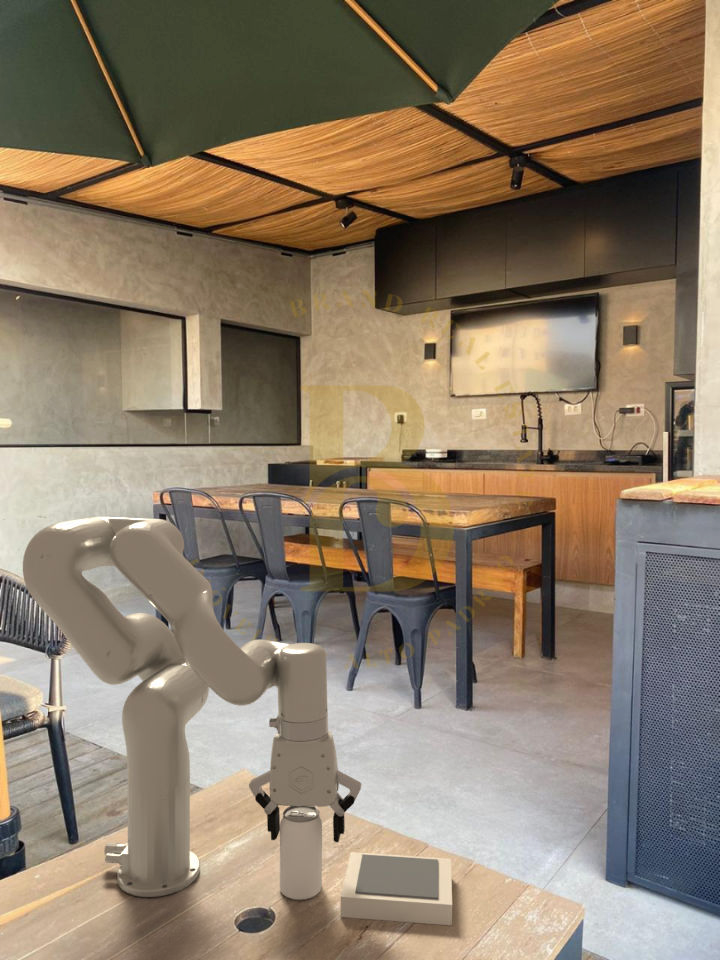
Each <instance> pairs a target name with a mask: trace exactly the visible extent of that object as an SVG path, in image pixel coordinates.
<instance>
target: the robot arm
mask: <svg viewBox="0 0 720 960" xmlns="http://www.w3.org/2000/svg"><path fill="white" fill-rule="evenodd" d="M184 549H185V541H184V537H183V534H182V533H181V531H180V530H179V528H177V526H176V525H175V524H173V523H171V522H170V521H168V520H166V519H162V518H161V519H160V518H137V517H136V518H135V517H115V516H114V517H112V516H111V517H110V516H92V517H86V518H79V519H73V520H72V519H71V520H65V521H60V522H56V523H54V524H51V525H47V526H46V527H44V528H42V529H40V530H39V531H38V532H37V533H36V534H34V536H33V537H32V538H31V539H30V540H29V542H28V544H27V546H26V548H25V551H24V554H23V560H22V575H23V580H24V583H25V586H26V588H27V591H28V592H29V593H28V594H30V596H31V598H33V600H34V602H35V604H37V605H38V606H39V607H40V609H41V610H42V611H43V613H45V614H46V615H47V616H48V617H49V618H50V619H51V621H53V623H54V624H55V626H56V627H57V628H58V629H59V630H60V631H61V633H62V634H63V635H64V637H65V638H66V639H67V641H68V642H69V643H70V645H71V646H72V648H73V649H74V650H75V651H76V653H77V654H78V655H79V657H80V658H81V659H82V660H83V662H84V663H85V665H87V667H88V668H89V669H90V670H91V672H93V674H94V675H95V676H96V677H97V678H98V679H99V680H100V681H101V682H103V683H105V684H107V685H111V686H112V685H114V686H115V685H121V684H124V683H126V682H128V681H131V680H132V679H134V678H136V677H137V676H138V677H139V678H140V680H141V681H142V682H140V683H139V684H138V685H136V686H135V687H134V688H133V690H131V692H130V693H129V695H128V696H127V697H126V699H125V701H124V703H123V706H122V707H123V708H122V712H121V725H122V730H123V736H124V740H125V748H126V749H125V750H126V765H127V766H126V768H127V769H126V770H127V772H126V773H127V775H126V776H127V778H126V779H127V781H126V782H127V841H126V842H125V843H119V842H111V841H107V843H106V844H105V845H104V851H103V852H104V855H105V857H104V862H105V863H108V864H119V868H118V870H117V874H116V875H117V877H116V878H117V885H118V886H119V887H120V889H121V890H122V891H124V892H125V893H127V894H129V895H132V896H136V897H141V898H157V897H164V896H167V895H171V894H174V893H176V892H180V891H181V890H183V889H185V888H186V887H188V886H190V885H191V884H192V883H193V882H194V881H195V880H196V879H197V877H198V875H199V873H200V869H201V862H200V859H199V857H198V855H196V854H195V853H194V852H192V851H191V850H190V848H191V839H190V838H191V824H190V823H191V817H190V816H191V810H190V809H191V808H190V807H191V803H190V802H191V789H190V787H191V761H190V751H189V745H188V743H187V742H188V741H187V738H186V725H187V724H188V723H189V722H190V721H191V720H192V719H193V718H194V717H195V716H196V715H197V714H198V712H200V711H201V710H202V709H203V708H204V706H205V704H206V703H207V700H208V696H209V691H210V690H211V691H213V692H214V693H215V694H216V695H217V696H218V697H219V698H221V699H222V700H224V701H226V702H227V703H229V704H231V705H235V706H242V707H243V706H247V705H251V704H254V703H255V702H256V701H258V700H259V699H261V697H262V696H263V695H264V694H265V693H266V692H267V690H269V689H271V688H273V687H276V688H277V711H278V712H277V714H278V715H277V716H275V717H269V722H268V725H269V726H268V727H269V728H274V729H276V731H277V733H276V734H275V735H274V736H273V739H272V745H271V754H270V764H269V765H270V766H269V767H270V768H269V769H270V770H269V771H266V772H264V773H262V774H260V775H258V776H256V777H255V778H252V779H251V780H250V782H249V784H248V787H249V790H250V791H251V793H252V795H253V796H254V799H255V800H254V801H256V803H257V804H258V805H259V806H260V807H262V809H263V811H264V813H265V815H266V823H267V824H266V825H267V832H269V833H270V839H271V841H275V840H277V838H278V836H279V835H280V822H281V820H280V817H281V815H280V807H279V806H282V807H283V806H284V807H289V806H309V807H316V808H322V807H330V808H331V810H332V811H333V812H334V813H333V817H332V824H333V825H332V827H333V830H332V831H333V833H332V834H333V842H334V843H339V842H340V839H341V838H340V837H341V835H344V834H345V827H346V826H345V823H346V822H345V813H346V812H347V811H348V810H349V809H350V808H351V807H352V806H353V805H354V803H355V801H356V800H357V797H358V795H359V793H360V791H361V789H362V782H361V781H358V780H357V779H355V778H353V777H351V776H349V775H348V774H346V773H344V772H342V771H340V770H339V767H338V758H337V752H336V746H335V745H336V744H335V740H334V735H333V733H332V732H331V731H330V730H329V720H328V719H329V716H328V714H329V713H328V710H329V709H328V679H327V678H328V677H327V676H328V675H327V674H328V673H327V654H326V651H325V649H324V648H323V647H322V646H321V645H319V644H316V643H312V642H311V643H310V642H296V643H286V642H279V641H273V640H269V639H268V640H267V639H253V640H250V641H247V642H246V643H245V644H243V645H242V646H241V647H240V646H239V645H238V644H237V643H235V641H234V640H233V639H232V638H231V637H230V636H229V635H228V634H227V632H226V631H225V630H224V629H223V627H222V626H221V624H220V622H219V621H218V618H217V616H216V613H215V611H214V604H213V603H214V602H213V589H212V584H211V583H210V582H209V580H208V579H207V578H206V577H204V575H203V574H202V573H200V572H199V571H198V569H197V568H195V567H194V566H193V565H192V564H191V562H190V561H188V560H187V558H185V556H184V555H183V553H184ZM99 567H115V568H116V569H117V570H118V571H119V572H120V574H122V575H123V576H124V577H125V578H126V579H127V580H128V581H129V583H130V584H132V585H133V587H135V589H136V590H137V591H138V592H139V593H141V595H142V596H143V597H144V598H146V600H147V601H148V603H150V604H151V605H152V606H153V608H155V609H156V610H157V611H158V612H159V613H160V614H161V616H162V617H164V619H165V620H166V621H167V622H168V623H169V625H170V627H171V629H170V627H168V625H166V623H165V622H164V621H162V620H161V619H159V618H158V617H157V616H154V615H152V614H151V613H150V614H149V613H146V612H135V613H130V614H128V615H126V616H124V615H123V613H121V612H120V611H119V610H118V608H117V607H116V606H114V604H113V603H112V602H111V600H110V599H109V597H108V596H107V595H106V594H105V593H104V592H103V591H102V590H101V589H100V588H99V587H98V586H96V585H95V584H93V583H91V581H88V579H86V578H85V576H84V575H83V572H86V571H89V570H92V569H96V568H99ZM268 783H269V794H267V793H266V791H264V790H263V788H262V786H264V785H267V784H268ZM340 785H341V786H343V787H345V788H346V789H348V790H349V792H348V794H347V795H346V796H344V798H343V797H342V796H341V795H340V793H339V788H340V787H339V786H340Z"/></svg>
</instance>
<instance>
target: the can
mask: <svg viewBox="0 0 720 960" xmlns="http://www.w3.org/2000/svg"><path fill="white" fill-rule="evenodd" d="M322 877H323V820H322V818H321V816H320V810H319V807H309V806H286V808H284V810H283V812H282V817H281V820H280V831H279V891H280V892H281V893H282V895H283V896H284V897H285V898H287V899H289V900H293V901H298V902H299V901H308V900H309V899H313V898H315V897H316V896H318V894H319V893H320V892H321V891H322V890H321V889H322V884H323V883H322V880H323V879H322Z"/></svg>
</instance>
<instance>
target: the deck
mask: <svg viewBox="0 0 720 960" xmlns="http://www.w3.org/2000/svg"><path fill="white" fill-rule="evenodd" d="M452 891H453V890H452V858H447V857H446V858H442V857H431V856H430V857H429V856H418V855H417V856H416V855H400V854H399V855H398V854H387V853H386V854H384V853H372V852H355V851H350V854H349V859H348V862H347V866H346V872H345V876H344V881H343V885H342V890H341V895H340V918H350V919H363V920H377V921H387V922H388V921H389V922H402V923H403V922H404V923H415V924H427V925H439V926H441V925H442V926H453V892H452Z"/></svg>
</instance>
